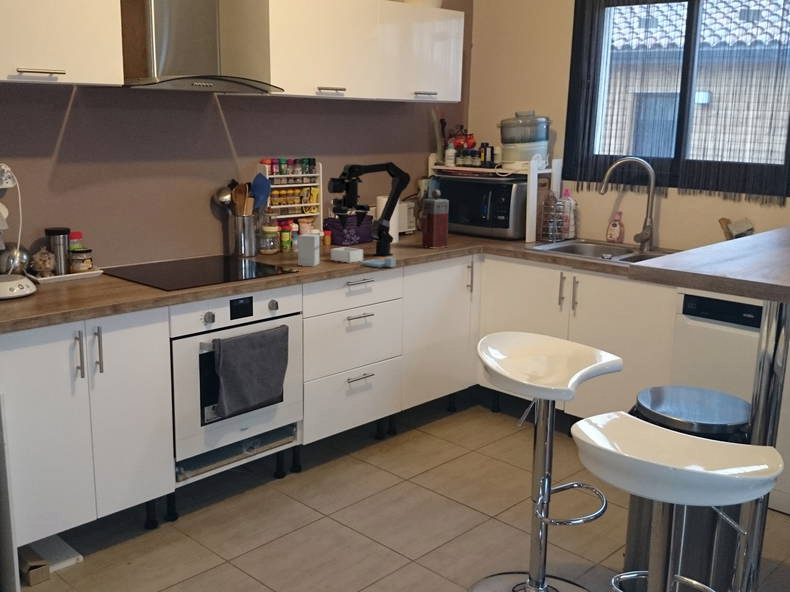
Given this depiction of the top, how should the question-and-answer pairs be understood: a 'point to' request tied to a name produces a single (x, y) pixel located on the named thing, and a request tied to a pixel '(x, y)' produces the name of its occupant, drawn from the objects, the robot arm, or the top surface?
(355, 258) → the tub
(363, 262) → the light blue tapered piece
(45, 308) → the top surface
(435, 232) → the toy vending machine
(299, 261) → the supplement box
